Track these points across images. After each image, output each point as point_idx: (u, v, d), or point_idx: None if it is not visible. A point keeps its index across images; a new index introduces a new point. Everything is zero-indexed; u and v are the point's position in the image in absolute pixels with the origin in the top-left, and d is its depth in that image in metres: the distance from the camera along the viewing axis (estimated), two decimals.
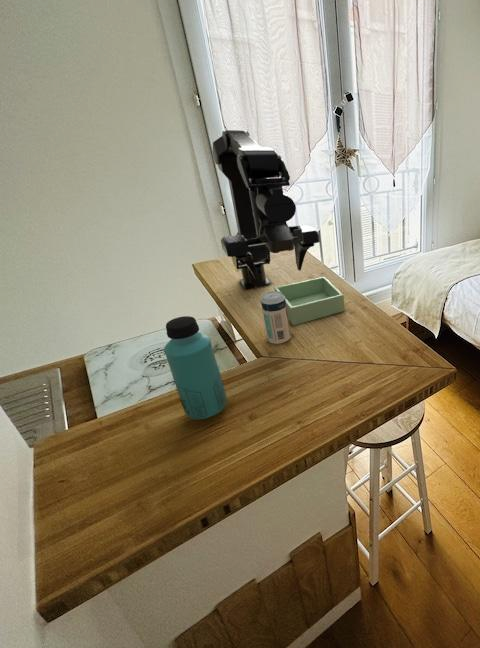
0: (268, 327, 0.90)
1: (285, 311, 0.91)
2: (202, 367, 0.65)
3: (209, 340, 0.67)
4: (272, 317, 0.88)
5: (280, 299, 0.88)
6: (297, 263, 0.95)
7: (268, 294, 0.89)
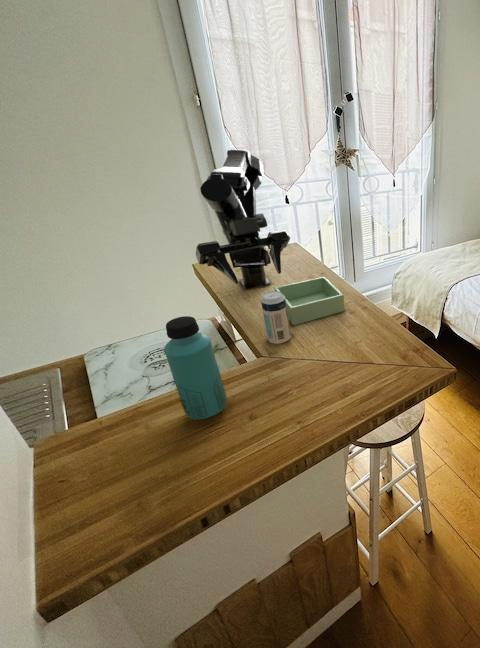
0: (268, 327, 0.90)
1: (285, 311, 0.91)
2: (202, 367, 0.65)
3: (209, 340, 0.67)
4: (272, 317, 0.88)
5: (280, 299, 0.88)
6: (276, 267, 0.96)
7: (268, 294, 0.89)
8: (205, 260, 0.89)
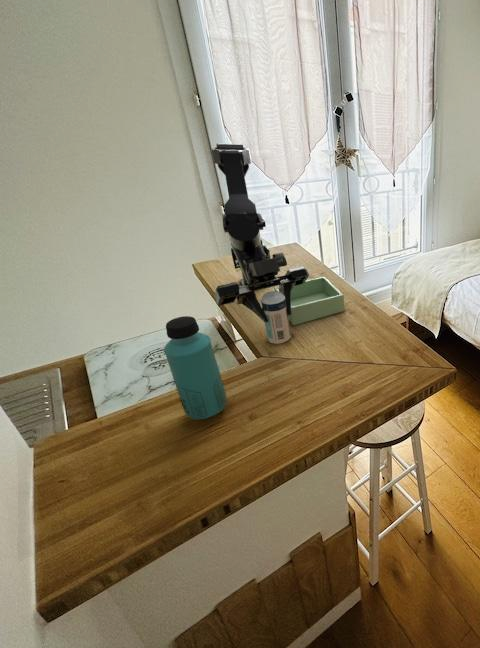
0: (268, 327, 0.90)
1: (285, 311, 0.91)
2: (202, 367, 0.65)
3: (209, 340, 0.67)
4: (272, 317, 0.88)
5: (280, 299, 0.88)
6: None
7: (268, 294, 0.89)
8: (224, 301, 0.87)
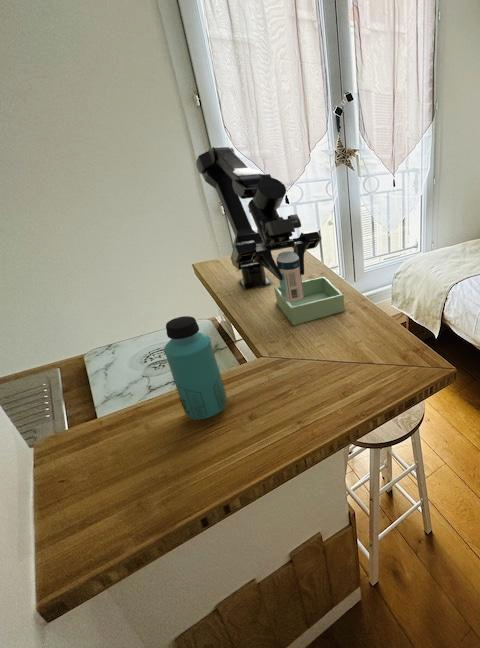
0: (283, 285, 0.94)
1: (299, 271, 0.95)
2: (202, 367, 0.65)
3: (209, 340, 0.67)
4: (287, 275, 0.93)
5: (294, 258, 0.93)
6: None
7: (283, 254, 0.94)
8: (241, 259, 0.92)
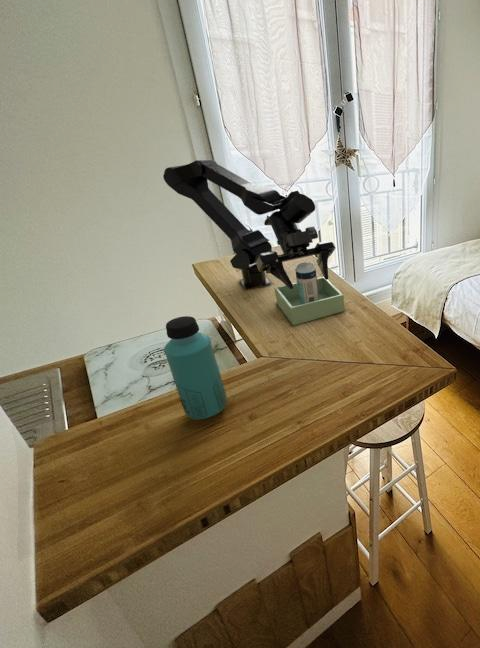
0: (301, 294, 1.04)
1: (315, 280, 1.04)
2: (202, 367, 0.65)
3: (209, 340, 0.67)
4: (305, 284, 1.02)
5: (312, 269, 1.02)
6: (324, 274, 1.07)
7: (301, 265, 1.03)
8: (264, 268, 1.01)
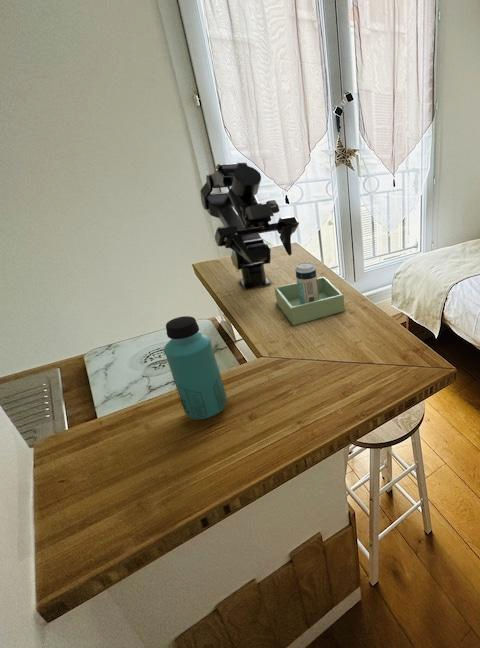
0: (301, 293, 1.04)
1: (315, 280, 1.04)
2: (202, 367, 0.65)
3: (209, 340, 0.67)
4: (305, 284, 1.02)
5: (312, 269, 1.02)
6: (287, 249, 1.05)
7: (301, 265, 1.03)
8: (223, 242, 0.98)
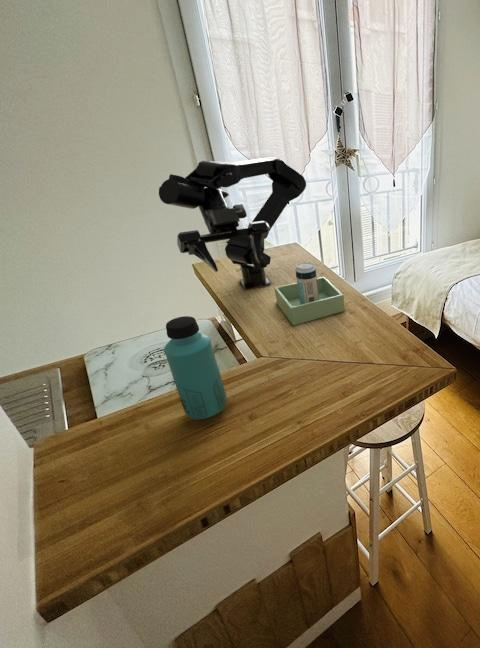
0: (301, 293, 1.04)
1: (315, 280, 1.04)
2: (202, 367, 0.65)
3: (209, 340, 0.67)
4: (305, 284, 1.02)
5: (312, 269, 1.02)
6: (256, 256, 0.99)
7: (301, 265, 1.03)
8: (186, 249, 0.93)
